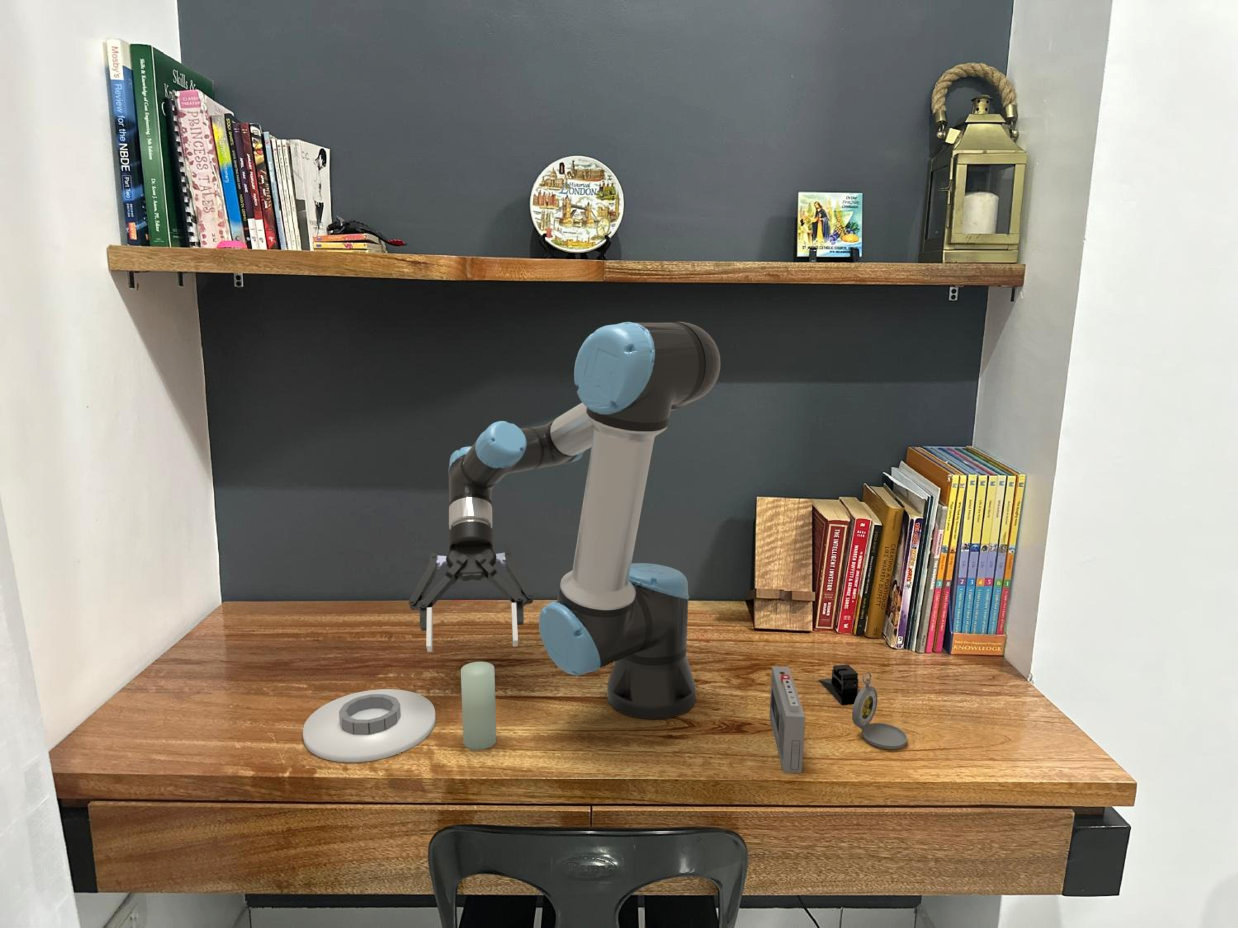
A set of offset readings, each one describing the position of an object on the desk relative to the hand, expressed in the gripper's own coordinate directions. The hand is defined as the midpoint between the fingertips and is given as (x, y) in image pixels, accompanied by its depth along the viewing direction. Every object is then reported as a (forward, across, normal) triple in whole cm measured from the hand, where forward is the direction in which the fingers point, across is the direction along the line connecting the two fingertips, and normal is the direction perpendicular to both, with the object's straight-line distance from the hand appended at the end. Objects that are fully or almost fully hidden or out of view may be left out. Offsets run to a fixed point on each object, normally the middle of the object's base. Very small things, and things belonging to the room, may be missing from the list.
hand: (472, 646), depth 128 cm
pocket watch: (+20, -62, +3) cm, 66 cm away
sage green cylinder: (+14, -1, -3) cm, 14 cm away
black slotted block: (+10, -64, -8) cm, 65 cm away
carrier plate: (+9, +16, -8) cm, 20 cm away
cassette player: (+20, -47, +3) cm, 51 cm away
